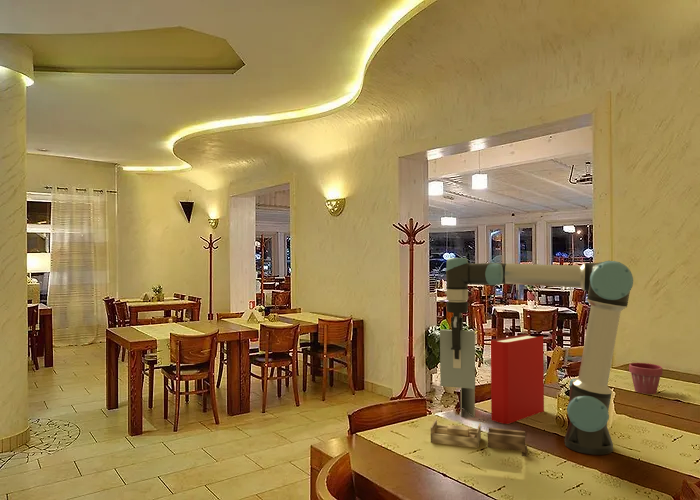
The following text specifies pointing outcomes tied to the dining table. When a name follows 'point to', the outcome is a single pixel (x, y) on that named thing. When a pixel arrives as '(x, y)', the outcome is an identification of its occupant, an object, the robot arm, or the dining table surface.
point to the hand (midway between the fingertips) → (457, 367)
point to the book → (516, 378)
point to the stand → (507, 439)
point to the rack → (441, 436)
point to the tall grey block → (468, 400)
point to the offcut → (458, 430)
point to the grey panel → (466, 373)
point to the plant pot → (645, 377)
